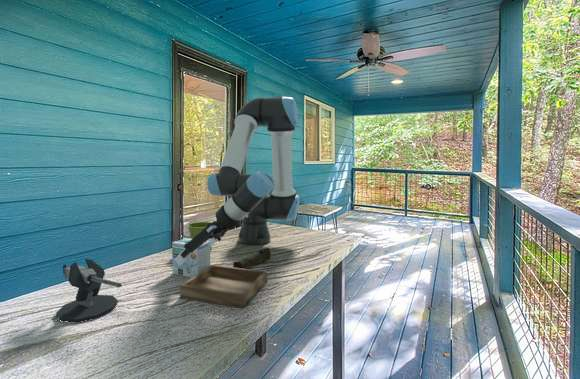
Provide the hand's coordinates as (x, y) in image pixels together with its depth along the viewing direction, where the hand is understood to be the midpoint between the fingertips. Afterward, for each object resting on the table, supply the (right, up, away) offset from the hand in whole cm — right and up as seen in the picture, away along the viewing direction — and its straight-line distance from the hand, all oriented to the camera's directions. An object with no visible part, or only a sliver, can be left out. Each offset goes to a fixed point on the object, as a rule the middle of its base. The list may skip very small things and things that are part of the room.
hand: (190, 255), depth 97 cm
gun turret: (-15, -9, -24) cm, 30 cm away
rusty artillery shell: (+19, -6, +11) cm, 23 cm away
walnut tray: (+14, -8, -11) cm, 19 cm away
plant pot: (-4, -4, +25) cm, 26 cm away
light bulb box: (0, -6, +2) cm, 7 cm away
